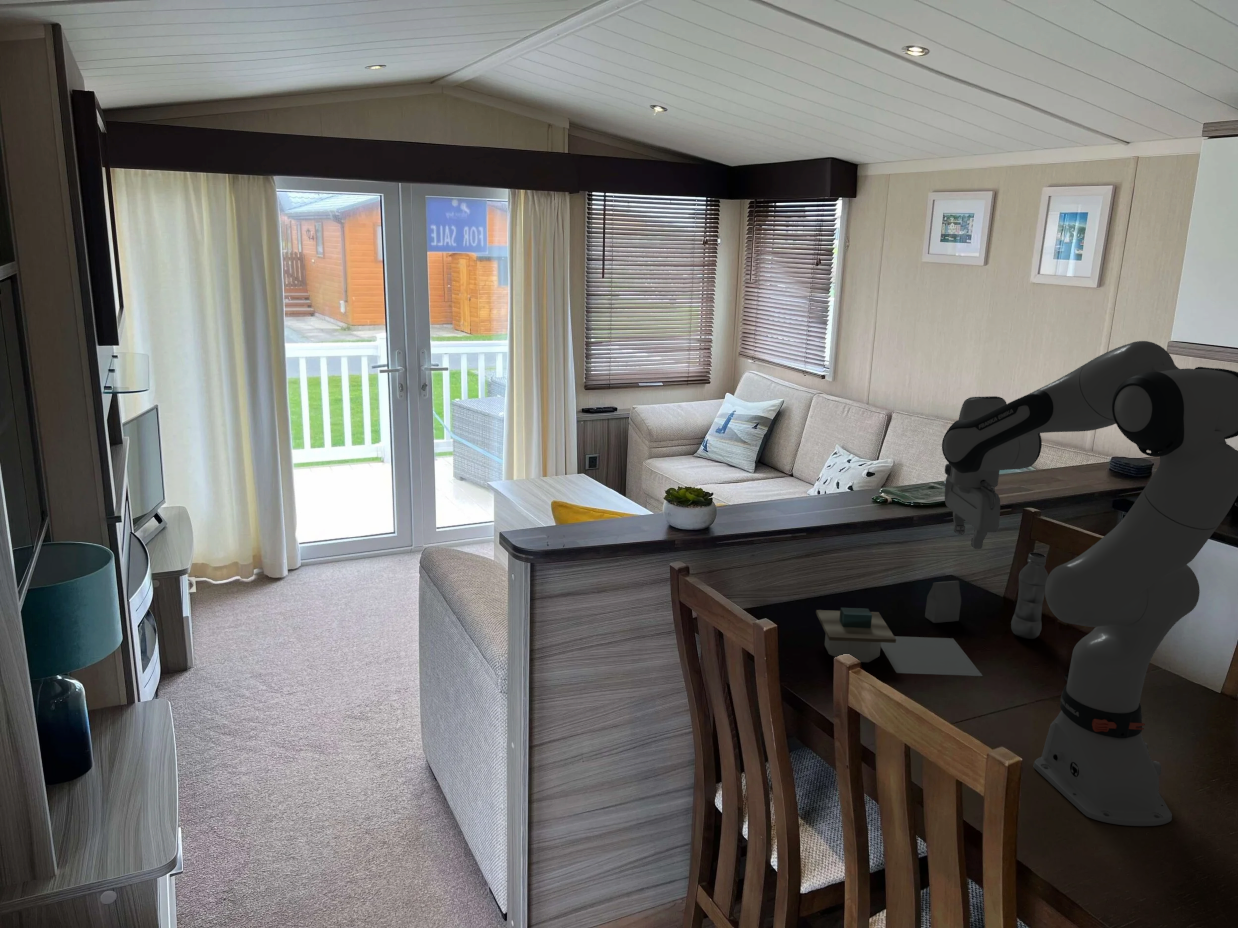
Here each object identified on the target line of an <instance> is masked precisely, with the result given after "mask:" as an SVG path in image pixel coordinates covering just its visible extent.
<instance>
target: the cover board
mask: <svg viewBox="0 0 1238 928" xmlns="http://www.w3.org/2000/svg"><path fill="white" fill-rule="evenodd" d="M815 614H816V617H817V618H818V620H819V623H820V625H821V626H822V629H823V631H824V633H825V636H826V635H827V637H828V639H829V640H830V641H857V642H885V643H896V638H895V637H894V636H895V635H894V634H893V632H892V630H891V629H890V627H889V626H888V624H887V623H886V621H885V620H884V619H883V617H882V615H881V614H880V612H879V611H870V609H869V608H864V607H863V608H861V607H859V608H858V607H840V609H839V610H829V609H827V610H824V609H816V610H815Z"/></svg>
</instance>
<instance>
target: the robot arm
mask: <svg viewBox="0 0 1238 928" xmlns="http://www.w3.org/2000/svg"><path fill="white" fill-rule="evenodd" d="M1114 425H1116V426H1117V428H1118V429H1119V431H1120V432H1121V434H1122V435H1123V436H1124V437H1125V438H1126V439H1127V440H1129V441H1130V442H1131V443H1133V444H1135V445H1136V447H1137V448H1138V450H1139V451H1140V452H1141V453H1142V454H1143V455H1146V456H1148V457H1155V458H1158V457H1159V465H1158V467H1157V469H1156V471H1155V473H1154V474H1153V475H1152V476H1151V478H1150V479H1149V481H1148V483H1147V484H1146V485H1145V487H1144V488H1143V490H1142V491H1141V493H1140V494H1139V495H1138V497H1137V499H1136V500H1135V501H1134V503H1133V505H1131V508H1130V509H1129V510H1128V512H1126V514H1125V515H1124V517H1123V518H1122V519H1121V521H1120V522H1119V523H1118V524H1116V526H1115V527H1114V528H1112V529H1111V530H1110V531H1109V532H1108V533H1106V534H1105V535H1104V536H1103V537H1102V538H1100V539H1099V540H1098V541H1097V542H1096V543H1094V544H1093V545H1091V547H1089V548H1087V550H1085V551H1084V552H1082V553H1081V554H1080V555H1078V556H1076V557H1075V558H1073V559H1071V560H1069V561H1067V562H1064V563H1062V564H1060V565H1057V566H1056V567H1054V568H1053V569H1052V570H1051V571H1050V572H1049V573H1048V575H1049V576H1048V578H1047V581H1046V585H1045V595H1044V598H1045V600H1046V603H1047V605H1048V606H1047V607H1049V609H1050V612H1052V614H1053V615H1054V617H1056V619H1058V620H1059V621H1061V622H1062V623H1066V624H1069V625H1070V624H1071V625H1077V626H1082V627H1083V626H1084V627H1089V628H1093V629H1092V630H1091V631H1090V632H1089V633H1088V634H1086V635H1085V636H1084V637H1082V638H1081V639H1080V640H1079V641H1078V642H1077V643H1076V644H1075V645H1074V648H1073V650H1072V652H1071V653H1072V654H1071V660H1070V665H1069V671H1068V674H1069V675H1068V681H1066V684H1065V685H1064V687H1063V690H1062V692H1061V694H1060V695H1061V696H1060V704H1059V707H1060V711H1059V713H1058V715H1057V717H1055V719H1054V720H1053V721H1052V722H1051V723H1050V725H1049V728H1048V732H1047V734H1046V739H1045V742H1044V747H1043V750H1042V753H1041V756H1039V757H1037V758H1036V759H1035V760H1034V762H1033V765H1032V766H1033V769H1034V770H1036V771H1037V772H1038V773H1039V774H1040V775H1041V776H1042V777H1043V778H1044V779H1045V780H1046V781H1047V782H1048V783H1049V784H1050V785H1052V786H1053V787H1054V788H1055V789H1056V790H1057V791H1058V792H1059V793H1061V794H1062V796H1064V797H1065V799H1067V800H1068V801H1069V802H1070V803H1071V804H1072V805H1073V806H1074V807H1076V808H1077V809H1078V810H1079V811H1080V812H1081V813H1082V814H1083V815H1084V816H1086V817H1087V818H1089V819H1092V820H1095V821H1099V822H1102V823H1107V824H1113V825H1118V826H1127V827H1130V826H1131V827H1155V826H1161V825H1165V824H1166V825H1167V824H1168V823H1170V822H1171V821H1172V820H1173V813H1172V811H1171V810H1170V809H1169V806H1168V805H1167V804H1166V802H1165V800H1164V798H1163V796H1161V793H1160V792H1159V791H1160V778H1159V777H1160V776H1161V773H1162V766H1161V762H1159V761H1158V760H1157V761H1156V760H1152V757H1151V755H1150V751H1149V745H1148V743H1147V742H1145V740H1144V738H1143V735H1142V731H1143V730H1145V728H1143V726H1146V723H1143V713H1142V706H1141V702H1140V701H1141V697H1142V692H1143V687H1144V683H1145V680H1146V675H1147V671H1148V668H1149V666H1150V664H1151V663H1150V662H1151V660H1152V659H1153V657H1154V654H1155V652H1156V651H1157V650H1158V647H1159V646H1160V644H1161V643H1162V641H1163V640H1164V638H1165V637H1166V635H1167V634H1168V633H1169V631H1170V630H1171V629H1172V628H1174V626H1175V624H1177V623H1178V622H1179V621H1180V620H1181V619H1183V618H1184V617H1185V616H1186V615H1189V614H1190V613H1191V612H1192V611H1194V610H1195V608H1196V606H1197V604H1198V602H1199V599H1200V592H1201V591H1200V584H1199V581H1198V577H1197V575H1196V574H1195V571H1193V569H1192V568H1191V567H1190V566H1189V565H1188V564H1190V563H1191V562H1192V561H1193V560H1194V559H1195V558H1196V557H1197V555H1198V554H1199V552H1200V551H1201V550H1202V549H1203V547H1204V546H1205V545H1206V543H1207V542H1208V541H1209V539H1210V538H1211V536H1212V535H1213V534H1214V532H1215V531H1216V530H1217V529H1218V527H1219V526H1220V525H1221V523H1222V522H1223V521H1224V519H1225V518H1226V516H1227V514H1228V513H1229V512H1230V510H1231V508H1232V506H1233V504H1234V503H1235V501H1236V499H1237V497H1238V450H1237V449H1236V448H1235V447H1233V446H1231V445H1230V444H1228V442H1227V440H1228V439H1232V438H1235V437H1238V371H1235V370H1231V369H1225V368H1219V367H1218V368H1217V367H1203V366H1195V368H1180V367H1178V366H1177V365H1176V364H1175V362H1174V359H1173V358H1172V356H1171V354H1169V352H1168V351H1167V350H1166V349H1165V348H1164V347H1162V346H1161V345H1159V344H1157V343H1155V342H1152V341H1149V340H1148V341H1147V340H1138V341H1133V342H1130V343H1127V344H1123V345H1120V346H1119V347H1116V348H1113V349H1111V350H1108V351H1106V352H1104V353H1102V354H1100V355H1098V356H1096V357H1094V358H1093V359H1091V360H1089V361H1088V362H1086V363H1084V364H1082V365H1081V366H1079V367H1077V368H1075V370H1073V371H1070V372H1069V373H1067V374H1065V375H1063V376H1061V377H1060V378H1057V379H1056V380H1054V381H1052V382H1050V383H1048V384H1046V385H1044V386H1042V387H1040V388H1038V389H1036V390H1034V391H1032V392H1030V393H1028V394H1026V395H1024V396H1021V397H1018V398H1017V399H1014V400H1012V401H1011V402H1008V403H1007V401H1006V400H1005V399H1004V398H1003V397H1000V396H998V395H997V396H996V395H995V396H992V395H991V396H970V397H967V398H966V399H965V400H964V401H963V402H962V405H961V407H960V411H959V414H958V419H957V420H956V421H954V422H953V423H952V424H951V425H950V426H949V427H948V429H947V430H946V432H945V433H944V436H943V438H942V443H941V450H942V455H943V457H944V459H945V460H946V462H947V463H946V464H945V466H944V474H945V475H946V476H945V477H946V478H945V484H944V501H945V505H946V507H947V508H949V509H950V510H951V511H952V519H953V524H954V526H953V532H954V533H955V534H956V535H960V536H961V535H963V536H964V534H965V532H966V531H965V530H966V526H965V522H966V523H968V524H969V525H970V526H972V527H973V532H974V534H973V537H971V541H970V546H971V547H972V548H973V549H975V550H981V549H982V548H983V544H984V540H985V538H986V537H987V535H988V533H996V532H997V531H998V530H999V527H1000V521H1001V520H1000V519H1001V498H1000V496H999V494H998V493H997V492H996V491H995V489H996V488H997V487H998V486H999V485H998V484H999V478H1000V471H1006V470H1021V469H1022V470H1023V469H1026V468H1030V467H1032V466H1033V465H1034V464H1035V463H1036V462H1037V460H1038V459H1039V457H1040V456H1041V452H1042V446H1043V444H1042V443H1043V442H1042V441H1043V440H1042V436H1041V434H1044V433H1045V434H1046V433H1069V432H1072V433H1073V432H1074V433H1075V432H1090V431H1096V430H1099V429H1104V428H1107V427H1111V426H1114ZM1147 451H1149V452H1147Z"/></svg>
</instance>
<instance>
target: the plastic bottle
mask: <svg viewBox="0 0 1238 928" xmlns="http://www.w3.org/2000/svg"><path fill="white" fill-rule="evenodd" d="M1027 556H1028V557H1027V560H1026V561H1027V564H1026V565H1025V566H1024V567H1023V568H1022V569H1020V572H1019V573H1018V595H1017V602H1016V606H1015V610H1014V614H1013V616H1012V618H1011V622H1010V624H1011V625H1010V628H1011V631H1012V633H1013V634H1014V635H1015V636H1017V637H1019V638H1022V639H1026V640H1027V639H1028V640H1034V639H1036V638H1038V637H1039V636H1040V633H1041V632H1042V611H1043V604H1044V600H1045V599H1044V598H1045V585H1046V581H1047V578H1048V576H1049V573H1048V571H1047V569H1046V567H1045V566H1046V563H1047V562H1046V560H1047V555H1045V554H1044V553H1041V552H1037V551H1036V552H1035V551H1032V552H1031V551H1030V552H1029V553H1028V555H1027Z"/></svg>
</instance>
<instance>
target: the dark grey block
mask: <svg viewBox="0 0 1238 928" xmlns="http://www.w3.org/2000/svg"><path fill="white" fill-rule="evenodd" d="M961 595H962V594H961V588H960V581H959V580H951V581H950V580H948V581H938V582H937V581H936V582H932V586H931V588H930V590H929V592H928V594H927V596H926V604H925V610H924V612H925V613H924V618H926V619H928V620H929V621H930V622H932V623H933V624H938V623H946V622H947V623H948V622H959V619H960V612H961V605H962V596H961Z"/></svg>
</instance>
